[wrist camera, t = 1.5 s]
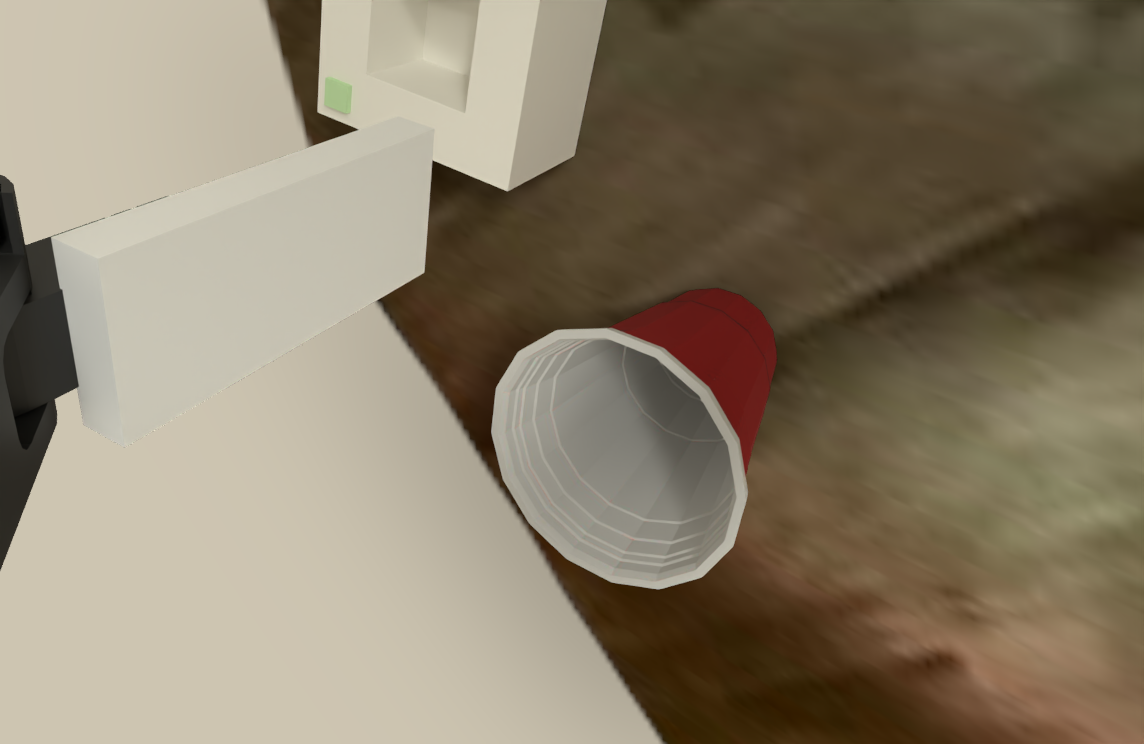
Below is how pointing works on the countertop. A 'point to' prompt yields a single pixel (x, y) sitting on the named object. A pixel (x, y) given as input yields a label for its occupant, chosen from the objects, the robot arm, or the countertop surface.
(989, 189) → the countertop surface
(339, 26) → the port
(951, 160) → the countertop surface
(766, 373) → the plastic cup
